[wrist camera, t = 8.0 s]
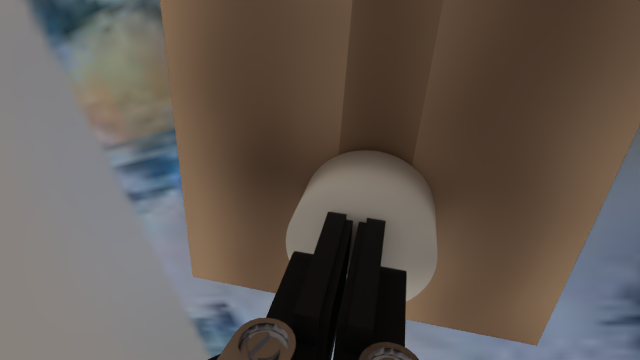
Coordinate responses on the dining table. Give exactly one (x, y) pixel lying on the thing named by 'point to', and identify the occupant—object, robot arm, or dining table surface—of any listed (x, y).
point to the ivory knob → (372, 211)
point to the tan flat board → (409, 133)
